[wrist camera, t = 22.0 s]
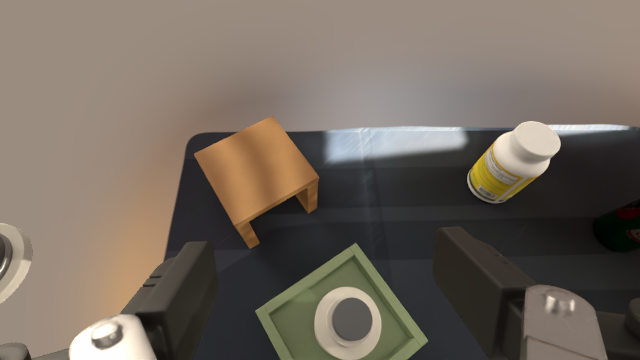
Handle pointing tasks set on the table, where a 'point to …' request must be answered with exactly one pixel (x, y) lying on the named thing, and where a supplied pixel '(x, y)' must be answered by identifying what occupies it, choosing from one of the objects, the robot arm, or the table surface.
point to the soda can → (620, 227)
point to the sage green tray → (304, 297)
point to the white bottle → (347, 323)
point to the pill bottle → (513, 162)
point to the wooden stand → (258, 174)
